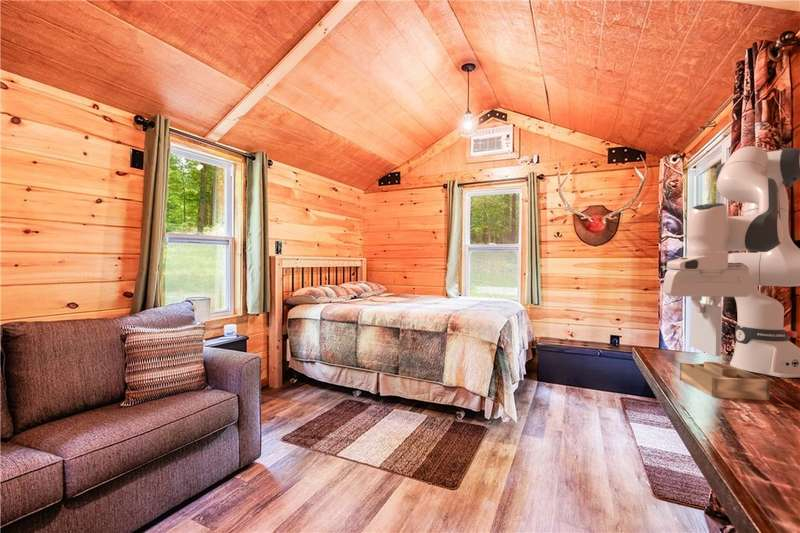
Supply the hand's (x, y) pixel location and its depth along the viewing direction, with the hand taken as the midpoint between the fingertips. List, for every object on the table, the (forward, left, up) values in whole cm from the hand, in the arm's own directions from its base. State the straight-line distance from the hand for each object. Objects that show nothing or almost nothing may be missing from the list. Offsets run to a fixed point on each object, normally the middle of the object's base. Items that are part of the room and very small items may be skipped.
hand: (705, 312), depth 102 cm
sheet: (0, 0, -11) cm, 11 cm away
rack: (-5, 0, -22) cm, 22 cm away
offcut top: (-4, 0, -17) cm, 17 cm away
